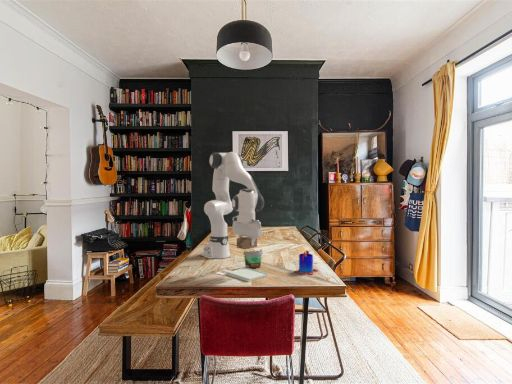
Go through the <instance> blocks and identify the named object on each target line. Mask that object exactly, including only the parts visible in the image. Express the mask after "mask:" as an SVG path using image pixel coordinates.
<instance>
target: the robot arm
mask: <svg viewBox="0 0 512 384" xmlns="http://www.w3.org/2000/svg"><path fill="white" fill-rule="evenodd" d="M243 164H244V158H243V157H242V155H241V154H238V153H236V152H235V151H230V152H218V151H217V152H215V151H214V152H212V153H211V154H210V156H209V165H210V167H211V168H212V169H214V170H213V176H212V192H213V193H214V195H215V199H212V200H209V201H207V202H206V203H204V207H203V212H204V213H205V214H206V216H208V219H209V221H210V230H211V232H210V235H209V241H208V242H207V243H206V244H205V245H204V246H203V252H201V253H199V255H200V256H202V257H205V258H206V259H225V258H226V259H227V258H229V257H230V256H231V252H230V245H229V235H228V223H227V222H226V220H225V219H224V216H225V215H229V214H231V213H232V212H233V211H235V212H238V214H237V215H235V216H234V217H232V225H231V226H232V233H233V235H238V238H242V237H251V239H252V241H251V242H250V245H252V246H253V245H254V242H255V240H256V238H257V239H260V238H262V237H263V229H262V227H263V226H262V223H261V221H260V220H259V219H256V212H257V213H258V212H260V211H262V209H263V208H264V206H265V199H264V197H263V196H262V194H261V192H260V190H259V188H258V186H257V185H256V182H255V181H254V179H253V177H252V175H251V174H250V173H249V172H248V171H247V170H246V169H245V168H244V166H243ZM230 182H234V183H238V184H241V185H243V186H245V187H246V188H241V189H240V190H239V193H237V194H235V195H234V196H233V197H232V199H231V196H230V192H229V191H230V190H229V189H230Z"/></svg>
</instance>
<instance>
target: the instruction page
mask: <svg viewBox="0 0 512 384" xmlns="http://www.w3.org/2000/svg"><path fill="white" fill-rule="evenodd" d="M230 271H232V270H231V269H223V270H220V271H217V272H214V274H216V275H221V276H225V275H226V272H230Z"/></svg>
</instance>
